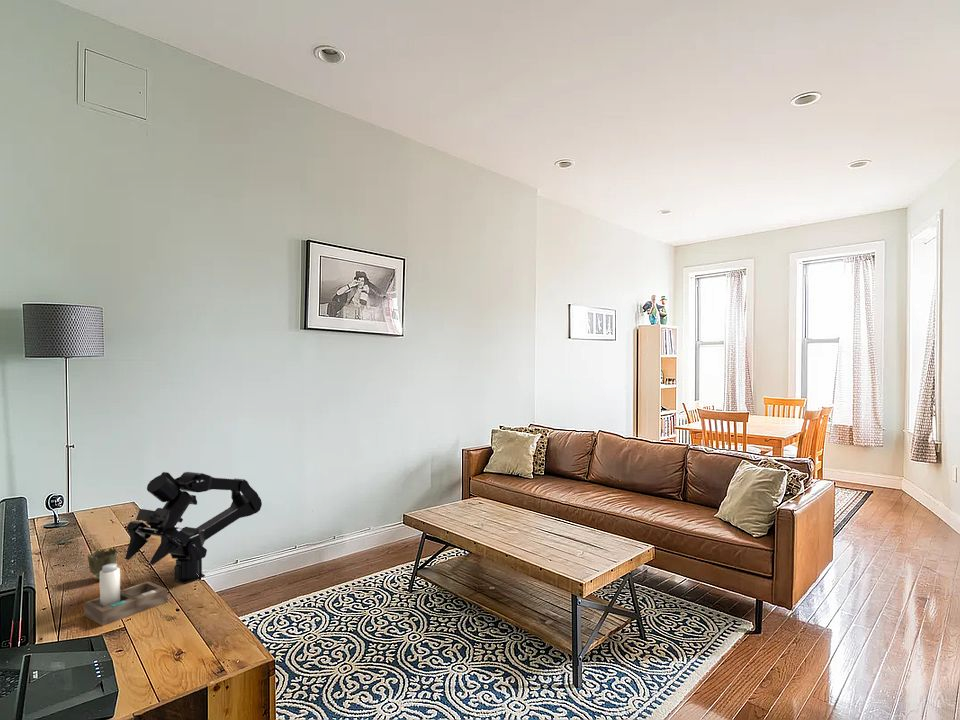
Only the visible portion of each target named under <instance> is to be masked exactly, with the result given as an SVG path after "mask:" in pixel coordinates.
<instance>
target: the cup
mask: <svg viewBox="0 0 960 720" xmlns="http://www.w3.org/2000/svg"><path fill="white" fill-rule="evenodd" d="M117 557H118V550H117V549H116V548H112V547H111V548H108V550H105V549H104V548H102V549H101V550H99V549H98V550H95V551H94V552H92V551H91V553H88V554H87V561H88V567H89V570H90V573H91V574H92V575H94V576H95V580H96V581H100V571H101V570H102V567H103V566H104V565H107V564H112V563H116V564H117Z"/></svg>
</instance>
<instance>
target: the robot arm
mask: <svg viewBox="0 0 960 720" xmlns="http://www.w3.org/2000/svg"><path fill="white" fill-rule="evenodd" d="M146 490H147V492H148V493H149V494H151V495H152V496H154V498H156V499H157V500H158V501H159V502H161V503H165V504H164V506H163V507H157V508H156V509H155V510H152V509H144V508H139V510H138V512H137V513H138V514H137V515H136V519H135V520H132V521H130V522H128V524H127V525H126V527H125V530H127V533H128V534H129V537H130V538H129V539H130V540H129V544H128V547H127V550H126V553H125V557H124V559H125V560H126V561H130V559H132V558H133V557H134V556H135V554H137V553H138V552H139V551H140V550H141V549H142V548H143V547H144V546H145V545H146V544H147V543H148V541H149V540H148V539H149V538H150V537H152V536H153V537H154V536H155V537H160V544H159V546H157V549H156V550H155V553H154V554H153V556H152V557H151V560H150V561H149V564H150V565H154V564H157V563H158V562H159V561H161V560H162V559H163V558H165V557H167V555H169V554H170V556H171V558H172V559H175V565H174V567H173V568H174V576H173V577H172V579H173V581H176V582H179V583H181V584H188V583H191V582H195V581H197V580H199V579H201V578H204V577H206V575H205V574H204V573H203V566H202V565H203V559H204V558H206V556H207V551H208V549H207V548H206V547H204V544H205V542H206V541H207V540H208V539H210V538H212V537H213V536H215V535H216V534H218V533H219V532H221V531H222V530H223V529H225V528H227V527H229V526H230V525H231V524H233V523H234V522H236V521H238V520H239V519H241V518H246V517H247V518H248V517H250V516H253V515H255V514H258V513H259V512H260V510H261V509H262V505H263V504H262V499H261V497H260V496H259V494H258V492H257V491H255V489H254V488H253V487H252V486H250V483H249V482H248V480H246V479H244V478H224V477H223V478H222V477H214V476H211V475H210V474H207V473H206V474H205V473H202V472H195V471H193V472H192V471H185V472H183V473H182V474H181V475H180V476H178V477H176V478H174V477H173V476H172V474H171V473H169V472H166V471H163V472H161V474H160V475H158V476H155V477H154V478H153V479H152V480H149V482H148V484H147V486H146ZM211 490H215V491H216V490H218V491H230V492H231V500H232V501H231V504H230V506H229V507H228V508H227V509H225V510H223V511H221V512H219V513H218V514H216V515H215V516H213V517H212V518H210V519H208V520H207V521H204V522H203V523H202V524H201V525H199V526H197V527H189V526H184V527H182V528H181V527H176V526H177V524H178V523H182V522H183V521H184V519H183V517H182V516H183V515H184V513H185V512H186V511H187V509H188V507H190V505H193V506H194V505H195V506H196V505H198V500H197V495H195V494H190V493H189V492H192V493H205V492H208V491H211ZM145 522H146V523H145ZM196 573H197V574H198V575H199V577H200V578H198V575H197V574H196Z"/></svg>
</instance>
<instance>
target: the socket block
mask: <svg viewBox="0 0 960 720" xmlns="http://www.w3.org/2000/svg"><path fill="white" fill-rule="evenodd" d="M120 600H121V601H120V602H117V603H114V604H111V605H109V606H106V607H103V608H101V607H100V596H99V597H97V598H94V599H91V600H87V601H84V611H83V613H84V617H86V618H88V619H89V620H91V621H92V622H94V623H97V624H98V625H99V626H107V625H109V624H112V623H114V622H116V621H119V620H122V619H125V618H128V617H131V616H133V615H136V614H138V613H141V612H144V611H146V610H149V609H151V608H155V607H158V606H160V605H163V604H165V603H168V588H167V587H166V588H165V587H163V586H161V585H158V584H156V583H154V582H151V581H145V582H141V583H139V584H136V585H133V586H130V587H128V588H124V589H120Z"/></svg>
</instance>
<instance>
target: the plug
mask: <svg viewBox="0 0 960 720" xmlns="http://www.w3.org/2000/svg"><path fill="white" fill-rule="evenodd" d="M120 590H121V568H120V566H119V567H118V564H117V562H116V563H112V564H107V565H104V566H103V567H102V570H101V571H100V580H99V597H100V607H101V608H103V607H106V606H109V605H111V604H114V603H117V602H120V601H121V600H120Z"/></svg>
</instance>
